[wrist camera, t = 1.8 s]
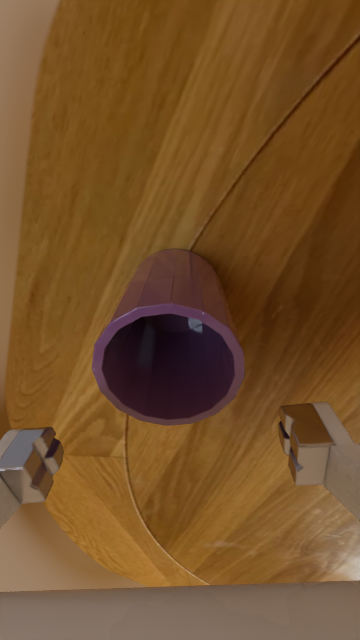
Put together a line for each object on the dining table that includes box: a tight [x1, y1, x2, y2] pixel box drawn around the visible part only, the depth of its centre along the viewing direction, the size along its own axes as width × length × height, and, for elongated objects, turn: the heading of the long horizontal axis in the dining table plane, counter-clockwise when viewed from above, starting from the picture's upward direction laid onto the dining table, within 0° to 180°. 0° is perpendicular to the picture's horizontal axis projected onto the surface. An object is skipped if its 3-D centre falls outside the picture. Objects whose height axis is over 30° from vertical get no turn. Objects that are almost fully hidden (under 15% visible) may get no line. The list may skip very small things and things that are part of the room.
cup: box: [92, 249, 245, 426], centre depth 16 cm, size 7×7×9 cm
